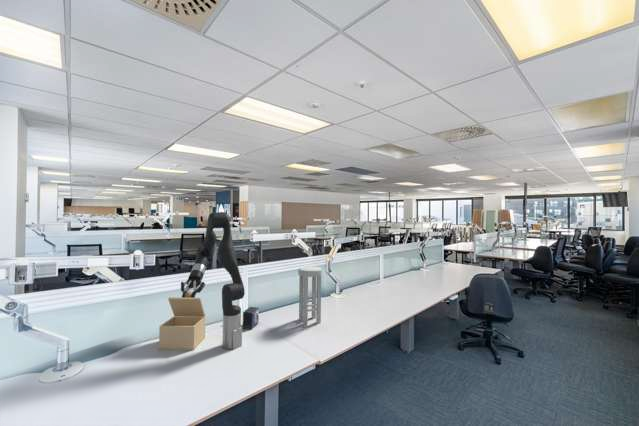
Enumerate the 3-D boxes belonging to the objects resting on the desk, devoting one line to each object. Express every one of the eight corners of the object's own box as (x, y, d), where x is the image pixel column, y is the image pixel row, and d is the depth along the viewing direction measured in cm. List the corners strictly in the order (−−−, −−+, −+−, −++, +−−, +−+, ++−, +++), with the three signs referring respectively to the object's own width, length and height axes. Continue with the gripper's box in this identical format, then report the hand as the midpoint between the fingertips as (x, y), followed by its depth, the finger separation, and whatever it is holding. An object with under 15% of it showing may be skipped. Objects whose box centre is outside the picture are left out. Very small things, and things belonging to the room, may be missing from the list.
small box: (251, 329, 169) (252, 312, 170) (242, 328, 171) (242, 311, 171) (259, 323, 180) (259, 307, 180) (249, 322, 181) (250, 306, 181)
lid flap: (174, 316, 157) (179, 306, 163) (204, 316, 157) (208, 307, 163) (168, 298, 150) (173, 289, 156) (199, 299, 151) (204, 289, 157)
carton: (173, 337, 157) (173, 316, 157) (204, 338, 157) (205, 316, 157) (159, 349, 143) (159, 326, 143) (193, 349, 143) (194, 326, 143)
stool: (324, 323, 181) (325, 269, 181) (302, 326, 175) (302, 271, 176) (316, 315, 195) (316, 265, 196) (295, 318, 190) (295, 267, 190)
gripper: (183, 269, 165) (172, 294, 152) (207, 269, 165) (198, 295, 152) (187, 276, 170) (176, 302, 157) (210, 276, 170) (202, 302, 157)
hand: (187, 298), depth 155 cm, fingers closed on lid flap, 4 cm apart
